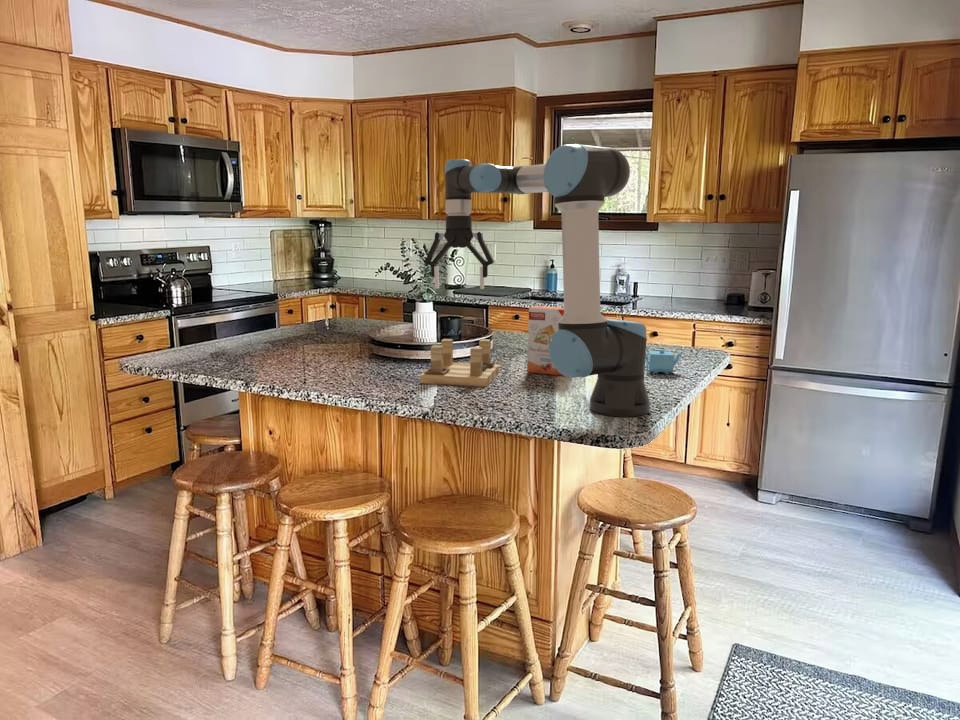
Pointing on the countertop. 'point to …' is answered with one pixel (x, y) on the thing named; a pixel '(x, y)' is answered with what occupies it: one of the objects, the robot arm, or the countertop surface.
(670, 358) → the teapot
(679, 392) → the countertop surface
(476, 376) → the seat
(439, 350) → the loose leg
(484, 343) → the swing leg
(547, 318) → the cracker box
